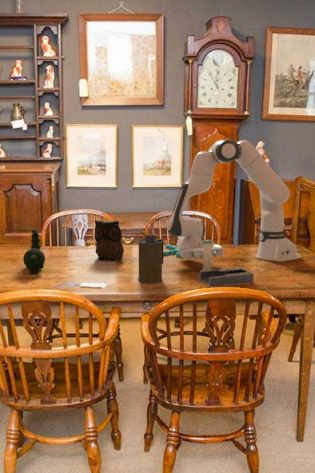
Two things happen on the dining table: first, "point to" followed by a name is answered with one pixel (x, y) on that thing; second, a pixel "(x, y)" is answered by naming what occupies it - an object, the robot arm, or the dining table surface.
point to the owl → (108, 241)
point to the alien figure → (173, 251)
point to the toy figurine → (34, 254)
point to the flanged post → (207, 255)
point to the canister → (150, 259)
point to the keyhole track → (226, 277)
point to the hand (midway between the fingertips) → (208, 255)
